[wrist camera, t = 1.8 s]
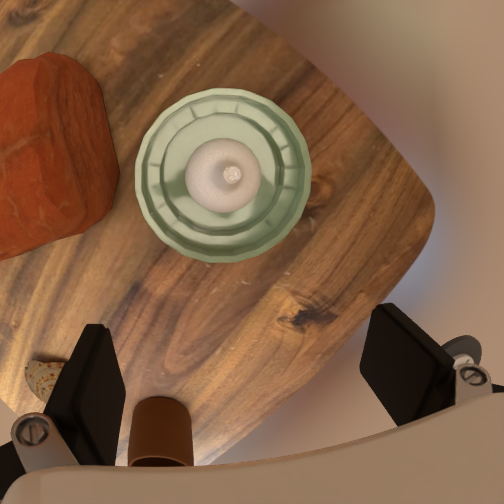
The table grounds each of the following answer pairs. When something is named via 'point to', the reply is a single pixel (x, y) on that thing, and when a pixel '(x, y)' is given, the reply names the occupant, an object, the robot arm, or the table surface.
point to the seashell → (42, 378)
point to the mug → (160, 435)
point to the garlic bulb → (223, 175)
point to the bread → (52, 153)
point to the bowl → (214, 223)
